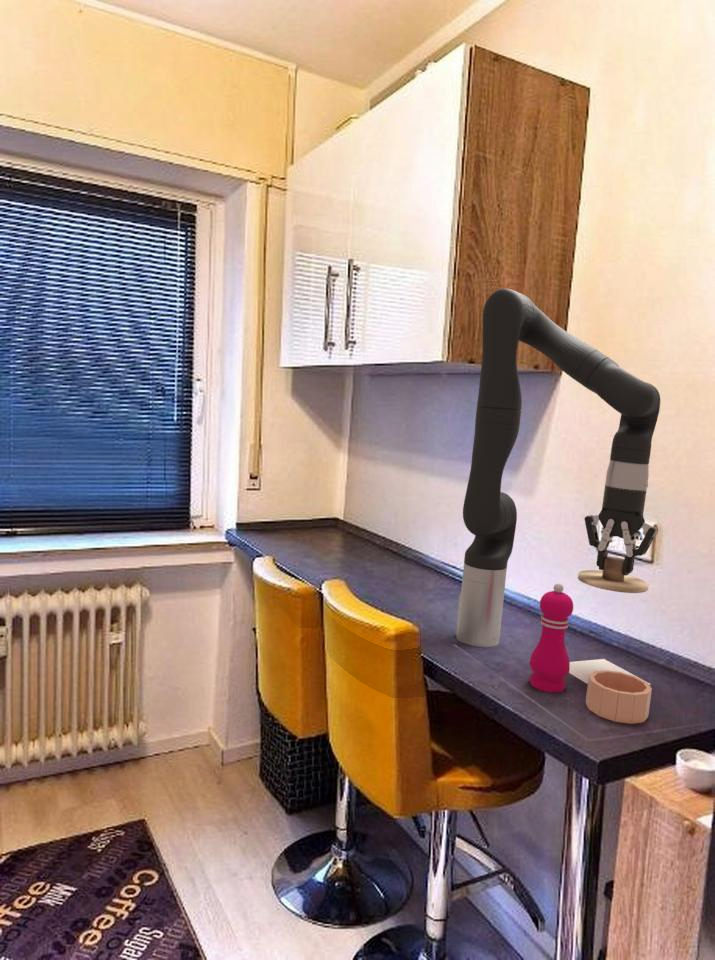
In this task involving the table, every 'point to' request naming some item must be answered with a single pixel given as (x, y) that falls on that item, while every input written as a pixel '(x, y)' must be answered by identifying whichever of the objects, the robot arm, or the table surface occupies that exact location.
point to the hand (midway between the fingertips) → (614, 571)
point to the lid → (613, 578)
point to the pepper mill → (552, 642)
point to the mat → (593, 668)
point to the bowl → (618, 696)
